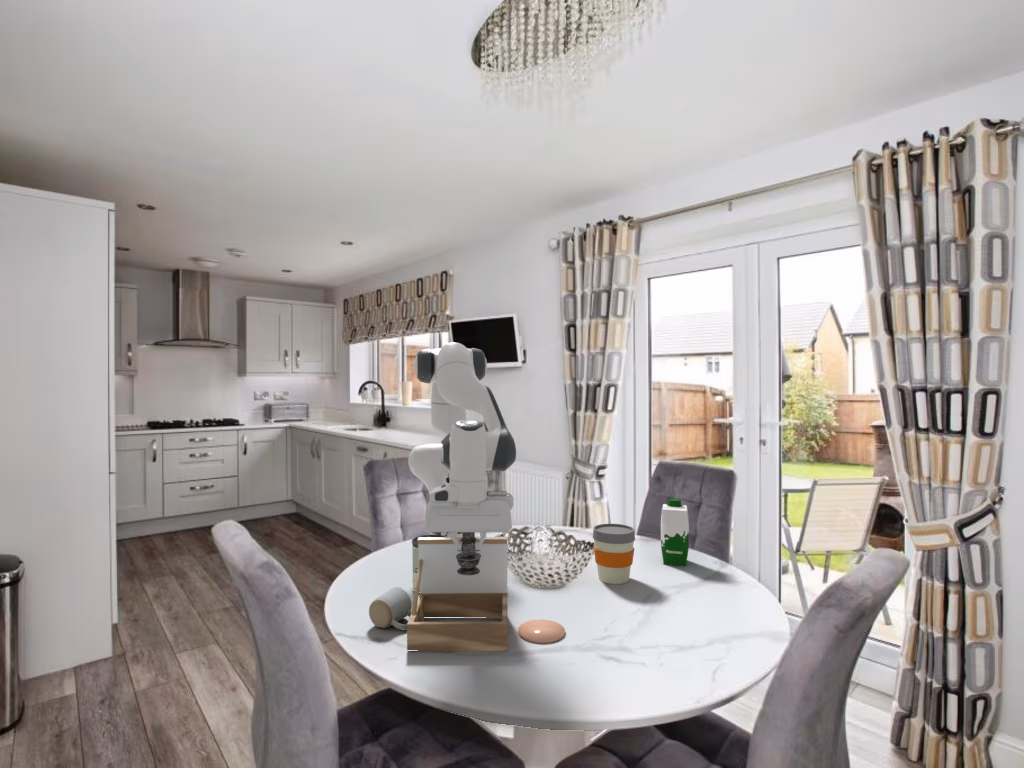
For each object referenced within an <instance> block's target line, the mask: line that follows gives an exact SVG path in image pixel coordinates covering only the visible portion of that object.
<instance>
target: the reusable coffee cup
mask: <svg viewBox="0 0 1024 768" xmlns="http://www.w3.org/2000/svg"><path fill="white" fill-rule="evenodd" d="M635 534H636V533H635V529H634V528H633V527H632V526H629V525H626V524H621V523H600V524H596V525H595V526H593V531H592V539H593V542H594V545H593V553H594V554H593V555H594V561H595V563H596V566H597V574H598V580H599V581H600V582H603V583H605V584H610V585H623V584H627V583H628V582H629V581H630V574H631V567H632V565H633V562H634V555H635V554H634V553H635V548H634V542H635V540H636V535H635ZM622 583H623V584H622Z"/></svg>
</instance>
